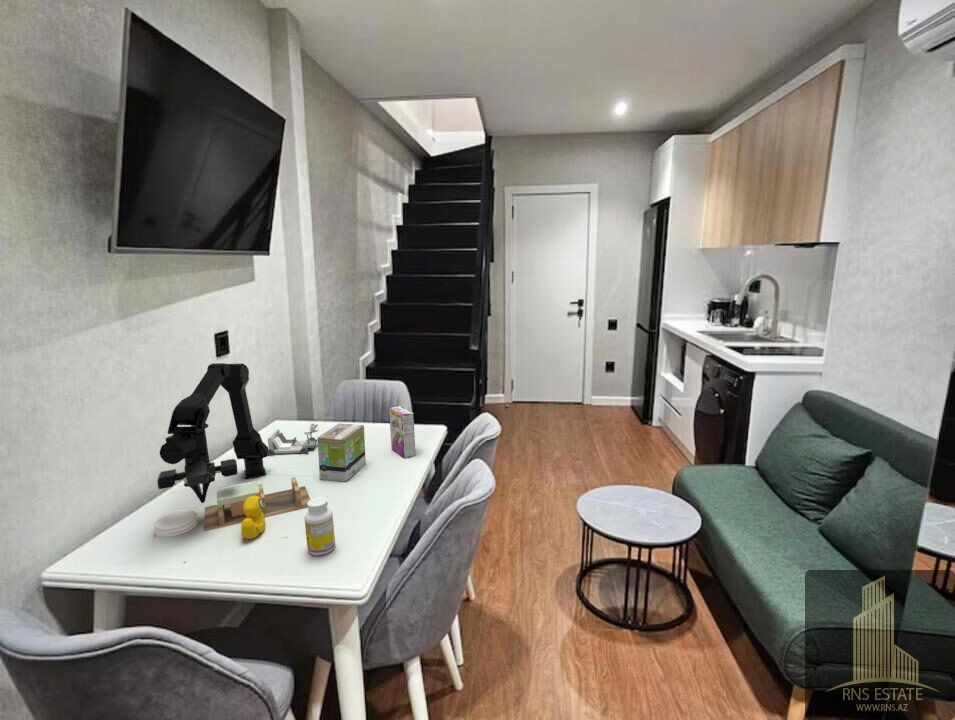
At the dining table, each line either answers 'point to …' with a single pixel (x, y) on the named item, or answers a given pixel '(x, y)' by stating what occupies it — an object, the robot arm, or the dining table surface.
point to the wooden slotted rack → (271, 506)
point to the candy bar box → (402, 431)
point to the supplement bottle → (319, 527)
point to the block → (237, 508)
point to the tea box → (341, 452)
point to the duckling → (253, 517)
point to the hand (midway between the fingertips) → (203, 502)
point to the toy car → (291, 443)
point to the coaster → (175, 523)
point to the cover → (236, 493)
